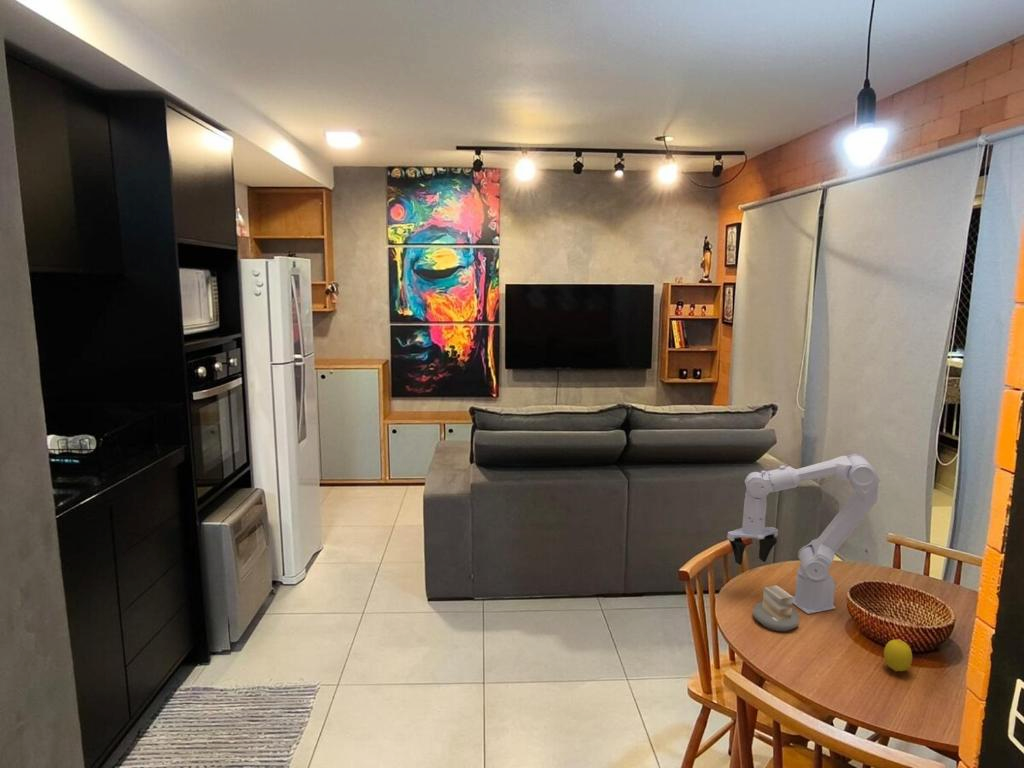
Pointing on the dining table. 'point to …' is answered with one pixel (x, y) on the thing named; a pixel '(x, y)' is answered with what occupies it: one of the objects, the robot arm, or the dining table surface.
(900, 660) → the lemon
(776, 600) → the block
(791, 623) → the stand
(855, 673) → the dining table surface
